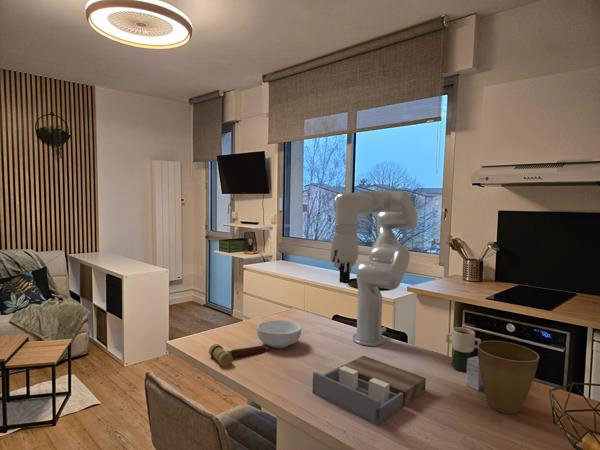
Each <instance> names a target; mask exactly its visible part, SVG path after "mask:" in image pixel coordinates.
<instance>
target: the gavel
mask: <svg viewBox="0 0 600 450" xmlns="http://www.w3.org/2000/svg"><path fill="white" fill-rule="evenodd" d="M268 350H269V347H268V346H263V345H257V346H249V347H243V348H234V349H231V350H225V349H224V347H222V345H220V344H219V343H218V344H217V343H215V344H213V345H212V346H211V347H210V348H209V351H208V354H209V356H210V357H211V358H212V359H215V360H216V361H217V362H218V364H219V365H220V366H221V367H223V368H225V367H228V366H230V365H232V363H233V361H234V358H237V357H238V358H239V357H245V356H250V355H251V356H252V355H257V354H261V353H264V352H266V351H268Z"/></svg>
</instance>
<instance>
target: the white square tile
mask: <svg viewBox="0 0 600 450" xmlns="http://www.w3.org/2000/svg"><path fill="white" fill-rule="evenodd" d="M342 366H343V365H342ZM339 383H342V384H344V385H346V386H348V387H351V388H353V389H357V388H358V371H356V370H353V369H351V368H348V367H346V366H343V367H341V366H340V368H339Z"/></svg>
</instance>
